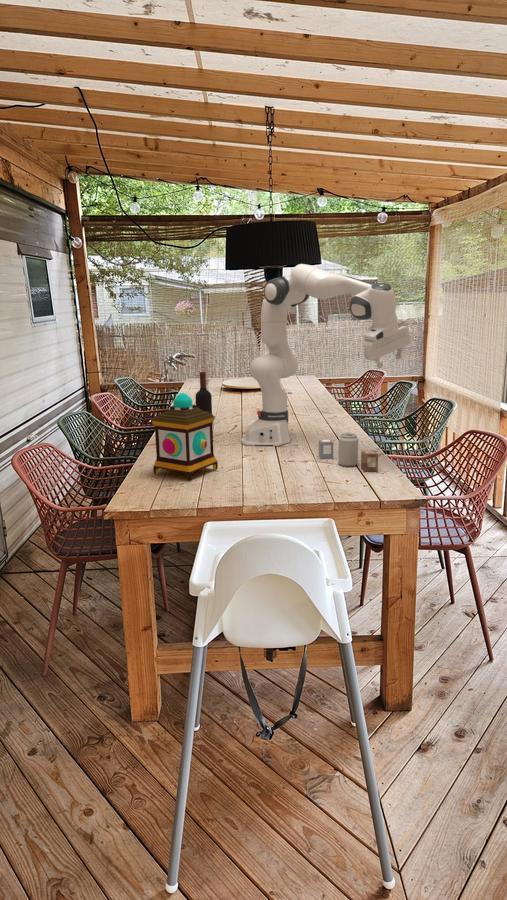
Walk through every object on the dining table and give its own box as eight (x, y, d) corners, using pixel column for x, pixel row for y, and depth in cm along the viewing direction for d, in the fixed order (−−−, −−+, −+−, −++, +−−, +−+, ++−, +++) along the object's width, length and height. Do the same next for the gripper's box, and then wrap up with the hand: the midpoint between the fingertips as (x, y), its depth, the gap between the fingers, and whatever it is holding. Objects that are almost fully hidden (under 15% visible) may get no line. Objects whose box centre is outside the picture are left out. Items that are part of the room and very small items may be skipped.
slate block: (320, 459, 233) (321, 442, 231) (318, 456, 238) (318, 439, 236) (333, 459, 233) (333, 442, 231) (330, 455, 238) (331, 439, 236)
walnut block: (364, 473, 214) (365, 454, 212) (360, 469, 219) (361, 450, 217) (377, 472, 214) (378, 453, 212) (374, 468, 219) (374, 450, 217)
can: (359, 462, 227) (360, 432, 224) (356, 468, 220) (356, 437, 217) (340, 461, 230) (340, 431, 227) (336, 466, 223) (336, 435, 220)
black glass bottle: (206, 419, 316) (204, 363, 309) (224, 421, 309) (223, 364, 302) (190, 423, 306) (188, 366, 299) (209, 425, 299) (207, 367, 292)
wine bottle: (194, 436, 277) (191, 372, 269) (201, 432, 284) (199, 371, 276) (208, 437, 274) (206, 373, 266) (215, 433, 281) (213, 371, 273)
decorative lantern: (190, 483, 205) (186, 398, 198) (148, 475, 215) (143, 394, 208) (223, 469, 221) (220, 390, 214) (182, 462, 232) (178, 387, 224)
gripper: (400, 317, 221) (403, 352, 227) (359, 335, 213) (363, 370, 220) (412, 320, 216) (415, 355, 222) (370, 338, 208) (374, 374, 215)
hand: (389, 363), depth 221 cm, fingers open, 8 cm apart
